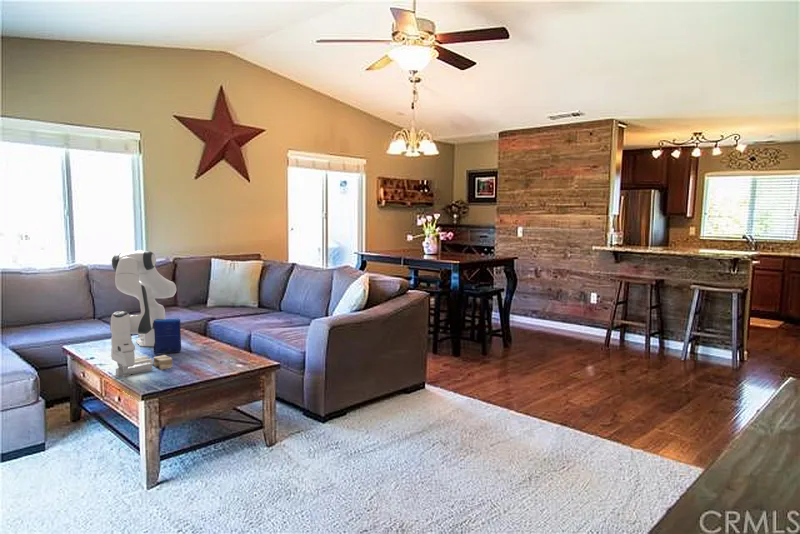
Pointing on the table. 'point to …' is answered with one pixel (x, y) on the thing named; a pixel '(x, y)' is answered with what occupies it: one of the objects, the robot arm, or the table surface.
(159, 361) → the tan wooden block
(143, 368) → the bar
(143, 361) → the cradle
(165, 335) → the book
